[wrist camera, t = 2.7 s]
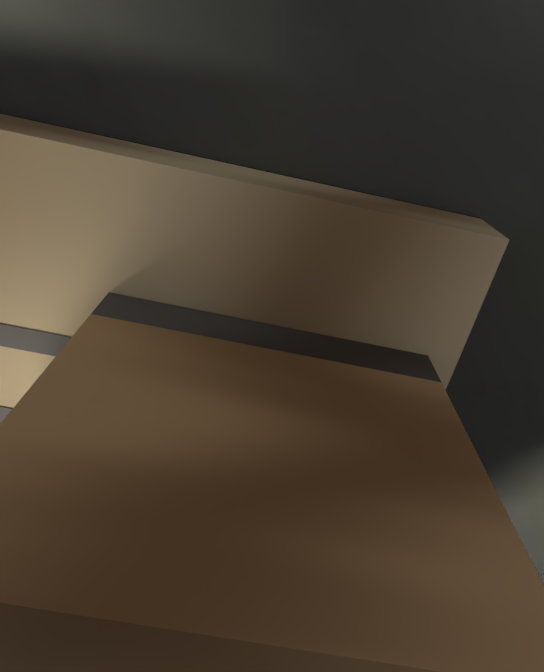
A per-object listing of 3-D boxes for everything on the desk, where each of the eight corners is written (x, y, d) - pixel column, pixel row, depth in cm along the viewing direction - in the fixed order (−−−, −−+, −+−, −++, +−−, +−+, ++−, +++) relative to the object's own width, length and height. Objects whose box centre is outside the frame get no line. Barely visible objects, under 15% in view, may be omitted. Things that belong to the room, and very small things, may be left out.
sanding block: (427, 355, 8) (598, 696, 4) (319, 632, 11) (340, 999, 7) (108, 292, 8) (-132, 582, 3) (88, 595, 11) (-52, 956, 6)
